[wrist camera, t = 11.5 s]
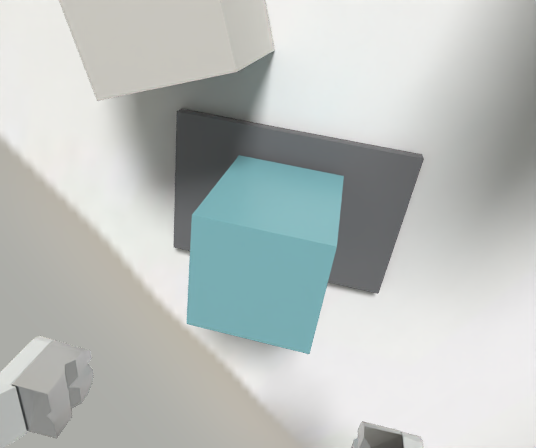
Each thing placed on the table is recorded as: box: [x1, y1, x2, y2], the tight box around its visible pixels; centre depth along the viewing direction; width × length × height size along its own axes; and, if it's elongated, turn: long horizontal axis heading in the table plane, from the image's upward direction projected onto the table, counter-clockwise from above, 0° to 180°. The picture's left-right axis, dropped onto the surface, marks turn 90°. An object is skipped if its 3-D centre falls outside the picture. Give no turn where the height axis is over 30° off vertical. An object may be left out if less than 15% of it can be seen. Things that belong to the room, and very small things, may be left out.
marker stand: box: [174, 109, 424, 293], centre depth 19 cm, size 12×8×7 cm, turn 82°
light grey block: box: [59, 0, 275, 101], centre depth 16 cm, size 5×5×7 cm
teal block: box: [187, 155, 344, 354], centre depth 19 cm, size 5×5×7 cm
